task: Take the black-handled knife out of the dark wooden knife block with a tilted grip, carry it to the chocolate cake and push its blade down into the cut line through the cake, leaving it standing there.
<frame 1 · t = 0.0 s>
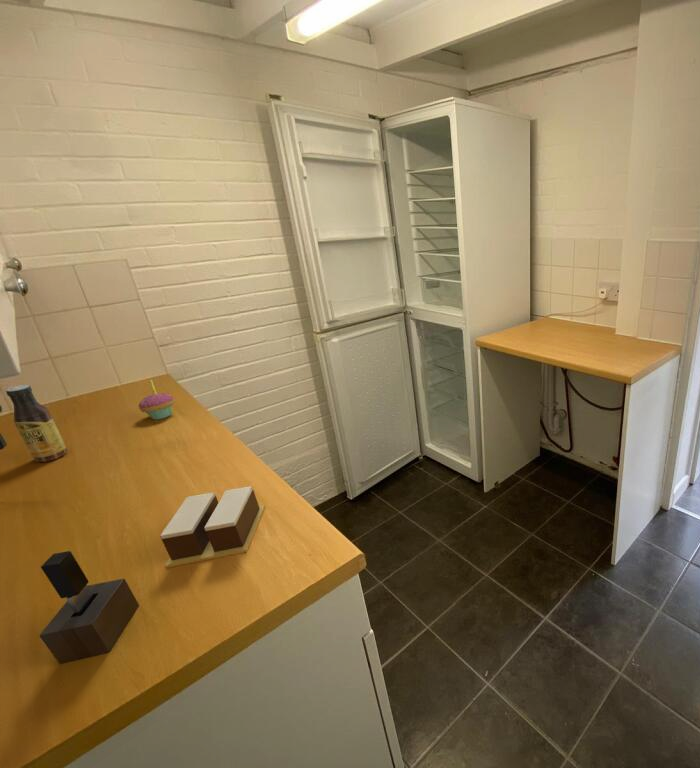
cupcake: (162, 416, 129), on the kitchen counter
knife block: (102, 632, 63), on the kitchen counter
sauce bottle: (53, 457, 109), on the kitchen counter
knife: (80, 597, 60), in the knife block
cake: (220, 534, 81), on the kitchen counter
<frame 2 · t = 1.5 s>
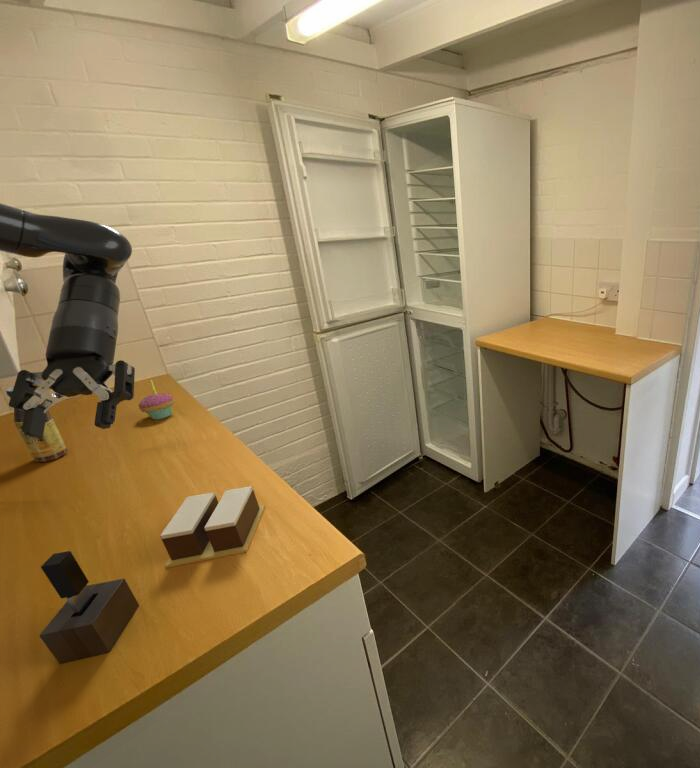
hand: (68, 431, 62), 29 cm above the kitchen counter, tool tilted 45°, fingers open, 8 cm apart
nothing on the kitchen counter moved.
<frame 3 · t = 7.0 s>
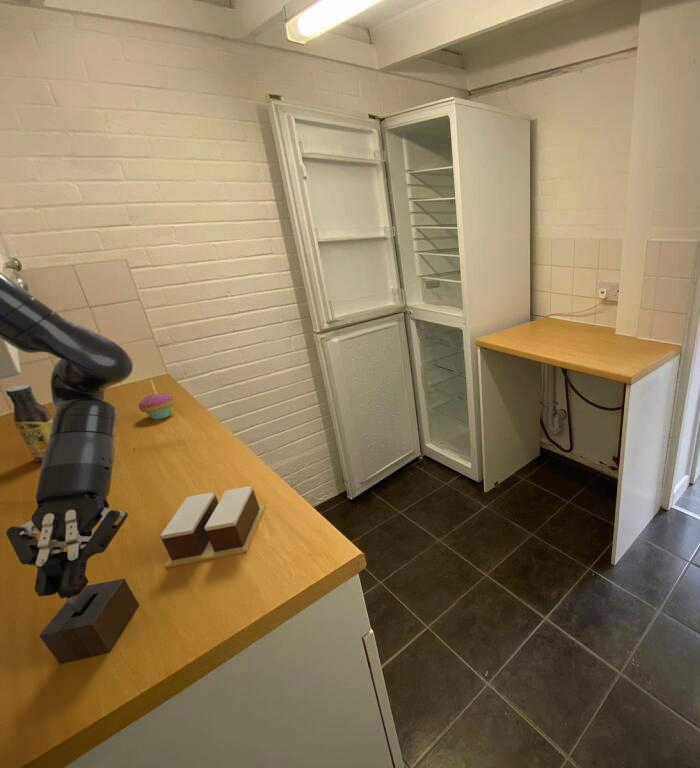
hand: (58, 592, 57), 11 cm above the kitchen counter, tool tilted 45°, fingers closed on knife, 2 cm apart
knife: (80, 597, 60), in the knife block, touching gripper
everything else where it was.
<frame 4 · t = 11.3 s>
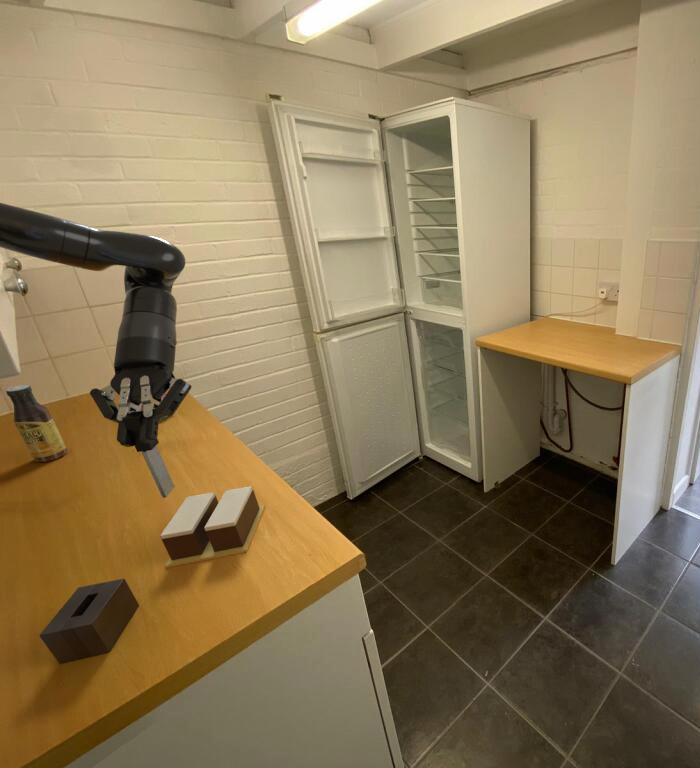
hand: (137, 443, 65), 25 cm above the kitchen counter, tool tilted 45°, fingers closed on knife
knife: (152, 455, 68), point 22 cm above the kitchen counter, touching gripper
everything else where it was.
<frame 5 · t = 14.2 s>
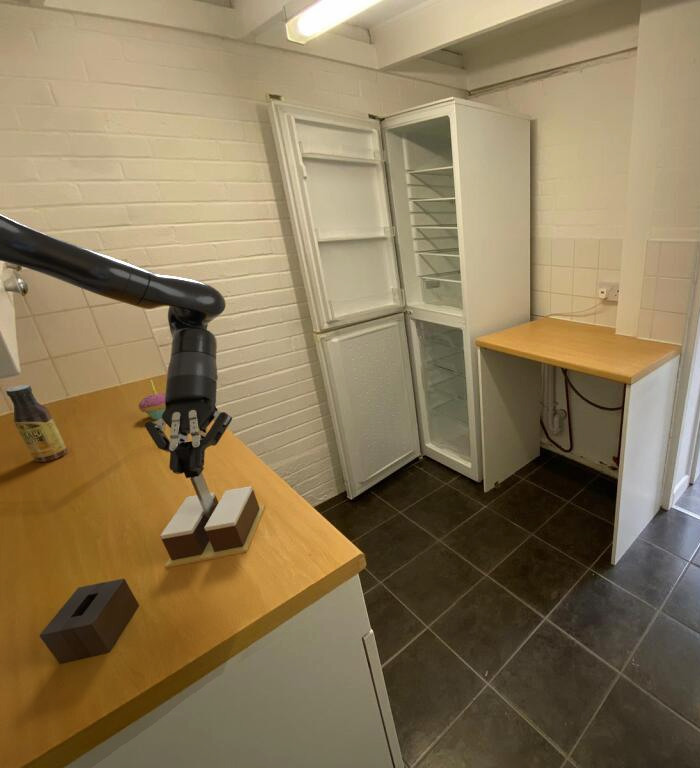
hand: (186, 471, 73), 16 cm above the kitchen counter, tool tilted 45°, fingers closed on knife
knife: (198, 480, 76), point 13 cm above the kitchen counter, touching gripper
everything else where it was.
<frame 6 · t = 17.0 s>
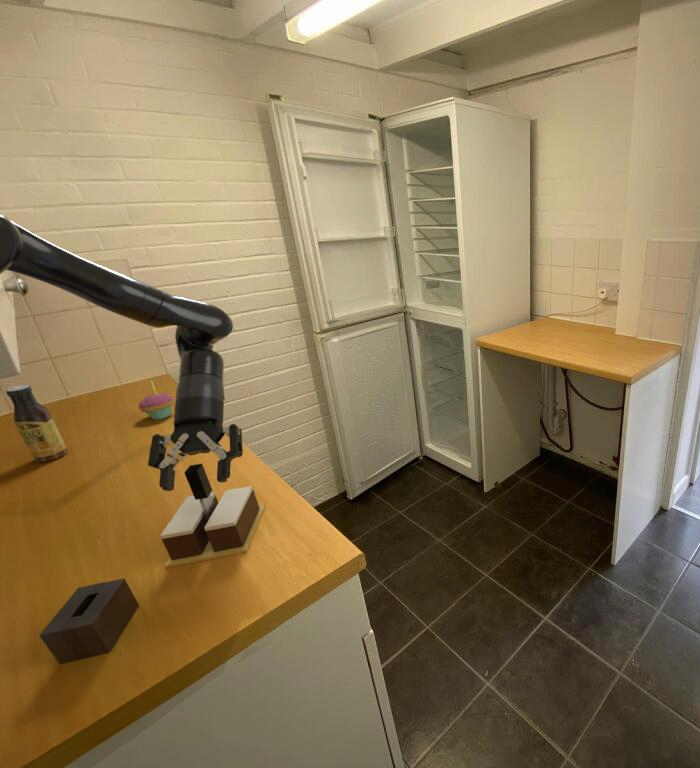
hand: (195, 485, 75), 13 cm above the kitchen counter, tool tilted 45°, fingers open, 8 cm apart
knife: (206, 501, 78), point 8 cm above the kitchen counter, touching cake
everything else where it was.
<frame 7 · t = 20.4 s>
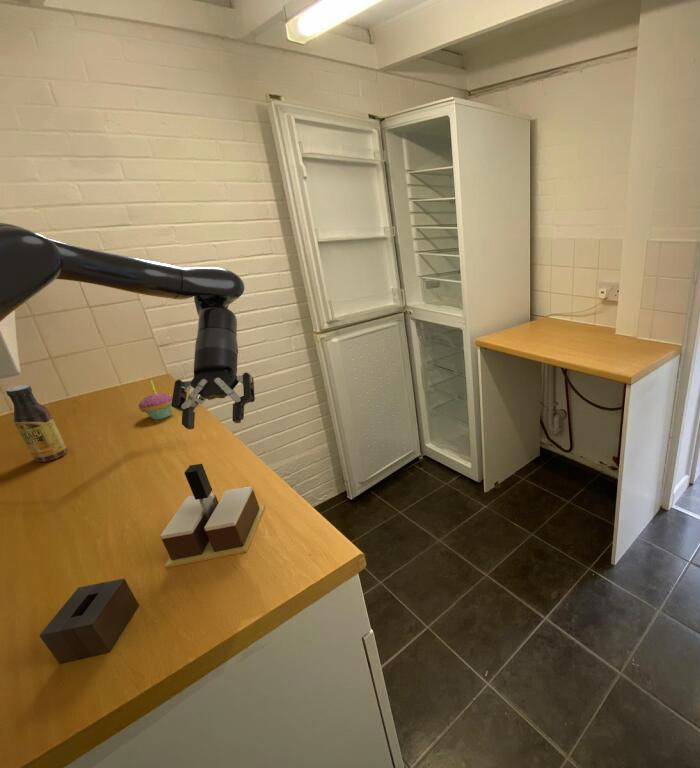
hand: (213, 425, 84), 18 cm above the kitchen counter, tool tilted 45°, fingers open, 8 cm apart
nothing on the kitchen counter moved.
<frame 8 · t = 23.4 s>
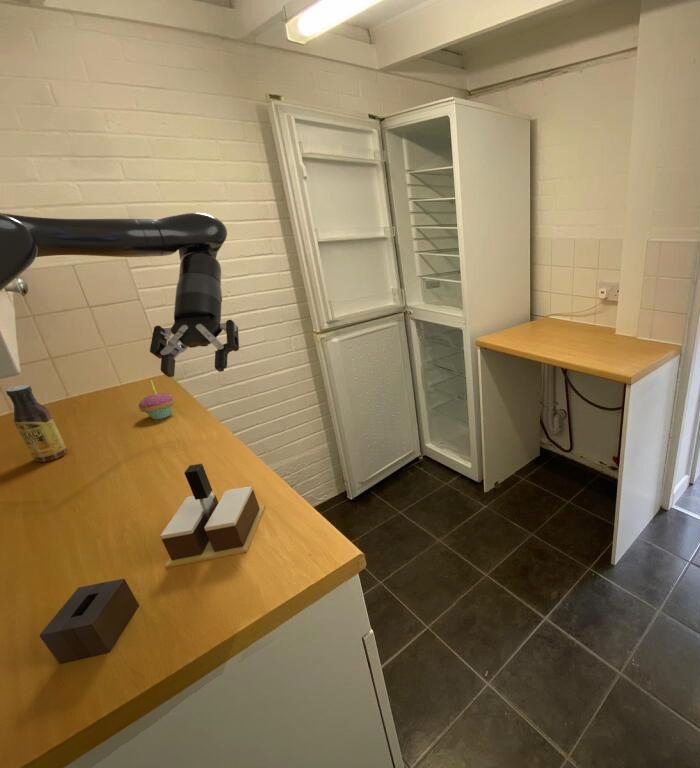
hand: (194, 372, 80), 30 cm above the kitchen counter, tool tilted 45°, fingers open, 8 cm apart
nothing on the kitchen counter moved.
at the end: knife 0.1 cm off-centre on the cake, point 8.1 cm above the cake's base; knife tilted 0°; the gripper is holding nothing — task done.
